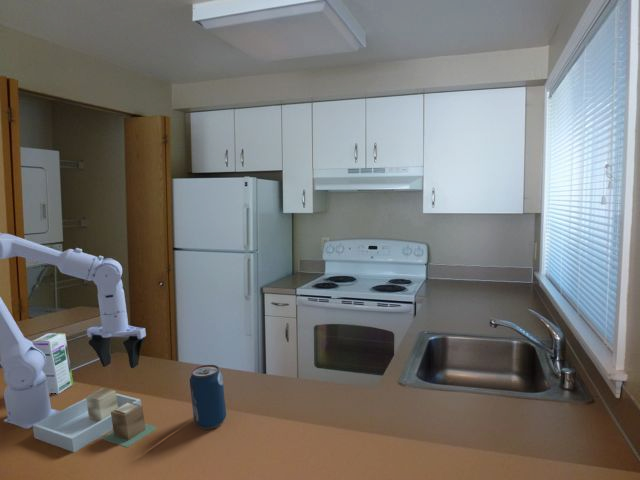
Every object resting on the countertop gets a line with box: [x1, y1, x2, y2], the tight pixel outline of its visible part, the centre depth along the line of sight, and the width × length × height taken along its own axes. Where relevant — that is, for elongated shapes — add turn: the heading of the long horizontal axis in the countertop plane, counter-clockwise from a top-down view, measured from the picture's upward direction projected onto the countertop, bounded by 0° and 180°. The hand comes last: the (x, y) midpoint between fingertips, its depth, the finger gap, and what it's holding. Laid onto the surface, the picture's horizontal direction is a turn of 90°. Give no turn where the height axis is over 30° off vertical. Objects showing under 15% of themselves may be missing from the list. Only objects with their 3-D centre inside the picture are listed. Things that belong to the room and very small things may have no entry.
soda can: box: [189, 364, 227, 430], centre depth 106 cm, size 7×7×12 cm
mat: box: [100, 423, 159, 448], centre depth 103 cm, size 8×8×1 cm
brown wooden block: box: [111, 402, 146, 441], centre depth 103 cm, size 4×4×6 cm
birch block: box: [85, 387, 118, 422], centre depth 110 cm, size 4×4×6 cm
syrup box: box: [30, 332, 74, 395], centre depth 127 cm, size 6×6×14 cm
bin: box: [32, 392, 142, 453], centre depth 108 cm, size 13×17×4 cm
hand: (120, 365), depth 117 cm, fingers open, 7 cm apart
